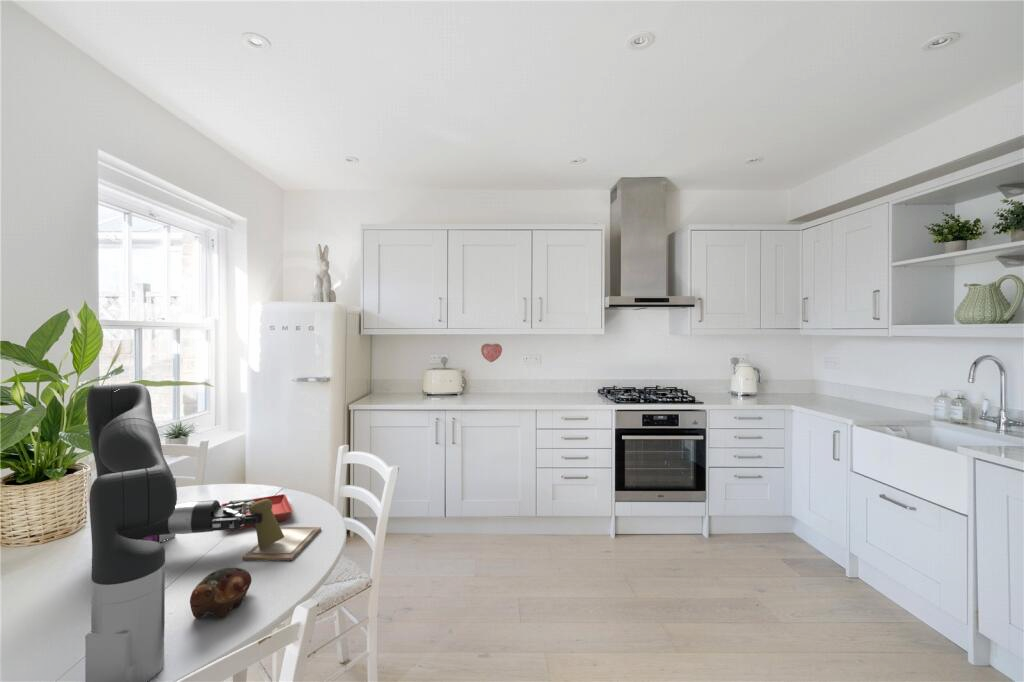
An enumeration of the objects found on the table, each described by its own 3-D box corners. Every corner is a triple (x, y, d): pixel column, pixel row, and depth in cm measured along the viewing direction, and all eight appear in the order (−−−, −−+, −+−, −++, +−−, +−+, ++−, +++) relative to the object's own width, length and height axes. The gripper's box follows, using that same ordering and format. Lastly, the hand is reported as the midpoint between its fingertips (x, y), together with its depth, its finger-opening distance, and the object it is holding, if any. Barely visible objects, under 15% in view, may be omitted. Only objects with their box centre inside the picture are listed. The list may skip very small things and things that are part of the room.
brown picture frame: (291, 560, 114) (291, 556, 114) (242, 560, 113) (242, 556, 113) (320, 529, 132) (321, 526, 132) (278, 529, 131) (278, 525, 131)
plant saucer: (220, 513, 143) (220, 503, 143) (285, 503, 153) (285, 493, 153) (221, 535, 128) (222, 523, 128) (293, 522, 138) (293, 511, 138)
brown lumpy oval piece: (170, 634, 85) (170, 590, 86) (219, 594, 101) (219, 556, 101) (223, 632, 86) (223, 588, 86) (265, 592, 101) (264, 554, 101)
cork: (273, 543, 115) (260, 500, 116) (253, 550, 116) (240, 508, 117) (289, 534, 121) (276, 494, 122) (270, 541, 122) (257, 501, 123)
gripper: (183, 513, 110) (259, 507, 114) (205, 492, 123) (272, 488, 128) (183, 544, 110) (258, 537, 114) (205, 520, 124) (272, 515, 128)
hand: (266, 511), depth 121 cm, fingers open, 8 cm apart
